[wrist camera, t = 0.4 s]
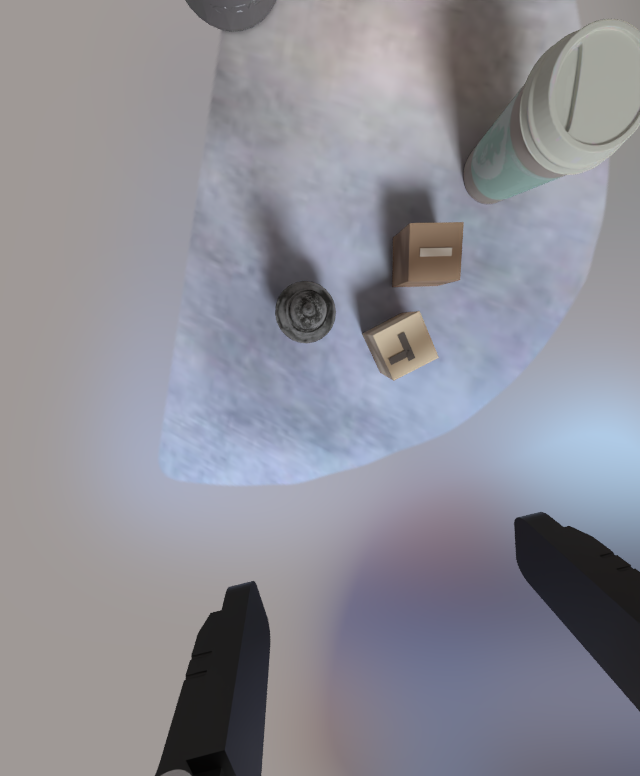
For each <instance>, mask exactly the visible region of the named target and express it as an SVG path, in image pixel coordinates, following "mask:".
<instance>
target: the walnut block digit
mask: <svg viewBox="0 0 640 776" xmlns="http://www.w3.org/2000/svg"><path fill="white" fill-rule="evenodd" d="M463 223H464V222H453V223H409V224H408V225H407V226H406V227H405V228H404V229H402V230H401V231H400V232H399V233H398V234H397V235H396V236H394V237H393V271H392V287H417V286H438V285H442V284H446V283H450V282H454V281H458V280H460V273H461V256H462V239H463Z"/></svg>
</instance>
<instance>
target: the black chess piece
mask: <svg viewBox="0 0 640 776" xmlns="http://www.w3.org/2000/svg"><path fill="white" fill-rule="evenodd" d="M335 314H336V310H335V304H334V301H333V299H332V297H331V295H330V294H329V293H328V291H327V290H326V289H325V288H323V287H322V286H321V285H319V284H316V283H314V282H308V281H302V282H296V283H294V284H292V285H290V286H288V287H287V288H286V289H285V290H284V291H283V292H282V293H281V295H280V296H279V298H278V301H277V304H276V311H275V315H276V320H277V323H278V325H279V327H280V329H281V331H282V332H283V333H284V334H285V335H286V336H287V337H289V338H290V339H292V340H294V341H297V342H299V343H311V342H316V341H318V340H320V339H322V338H323V337H324V336H325V335H327V334H328V332H329V331H330V330H331V328H332V326H333V324H334V321H335Z"/></svg>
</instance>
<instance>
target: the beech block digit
mask: <svg viewBox="0 0 640 776" xmlns="http://www.w3.org/2000/svg"><path fill="white" fill-rule="evenodd" d="M362 335H363V337H364V339H365V341H366V343H367V345H368V348H369V350H370V352H371V354H372V356H373V358H374V360H375V363H376V365H377V367H378V369H379V371H380V373H382V374H383V375H385V376H387V377H388V378H390V379H392V380H393V381H394V380H396V379H398V378H400V377H402V376H404V375H406V374H408V373H410V372H412V371H414V370H415V369H417V368H419V367H421V366H423V365H425V364H427V363H429V362H431V361H433V360H435V359H437V358H439V357H438V355H437V352H436V350H435V347H434V345H433V343H432V340H431V338H430V335H429V333H428V330H427V328H426V326H425V323H424V321H423V318H422V316H421V313H420V311H417V312H405V313H401V314H399V315H397V316H395V317H393V318H391V319H389V320H387V321H385V322H383V323H381V324H380V325H378V326H376V327H374V328H372V329H370V330H368V331H366V332H364V333H362Z"/></svg>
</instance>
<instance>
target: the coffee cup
mask: <svg viewBox="0 0 640 776" xmlns="http://www.w3.org/2000/svg"><path fill="white" fill-rule="evenodd" d="M639 125H640V31H639V30H638V29H636V28H635V27H634V26H632V25H631V24H629V23H627V22H625V21H621V20H618V19H604V20H599V21H595V22H593V23H590V24H588V25H587V26H585V27H583V28H582V29H580V30H578V31H575V32H573V33H571V34H569V35H567V36H565V37H564V38H562V39H561V40H560V41H558V42H557V43H556V44H555V45H553V46H552V47H551V48H549V49H548V50H547V51H546V52H545V53H544V54H543V55H542V56H541V57H540V59H539V60H538V61H537V63H536V64H535V65H534V67H533V69H532V70H531V72H530V74H529V76H528V78H527V81H526V83H525V84H524V86H523V87H522V88H521V89H520V91H519V92H518V93H517V94H516V96H515V97H514V98H513V100H512V101H511V102H510V103H509V105H508V106H507V107H506V109H505V110H504V111H503V112H502V114H501V115H500V116H499V118H498V119H497V120H496V121H495V123H494V124H493V125H492V127H491V128H490V129H489V130H488V132H487V133H486V134H485V135H484V137H483V138H482V139H481V141H480V142H479V143H478V145H477V146H476V147H475V148H474V150H473V151H472V152H471V154H470V155H469V157H468V159H467V161H466V163H465V167H464V184H465V187H466V190H467V191H468V193H469V195H470V196H471V197H472V198H473V199H474V200H476V201H477V202H480V203H483V204H494V203H497V202H499V201H502V200H505V199H507V198H510V197H512V196H515V195H517V194H520V193H522V192H525V191H528V190H530V189H533V188H535V187H538V186H540V185H543V184H545V183H548V182H550V181H553V180H555V179H558V178H560V177H563V176H565V175H574V174H579V173H583V172H586V171H588V170H591V169H593V168H594V167H596V166H598V165H599V164H600V163H602V162H603V161H604V160H606V159H607V158H608V157H610V156H611V155H612V154H613V153H614V152H615V151H616V150H617V149H618V148H619V147H620V146H621V145H622V144H623V142H625V141H626V140H627V139H628V138H629V137H630V136H631V135H632V134H633V133H634V132H635V131H636V129H637V128H638V127H639Z"/></svg>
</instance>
